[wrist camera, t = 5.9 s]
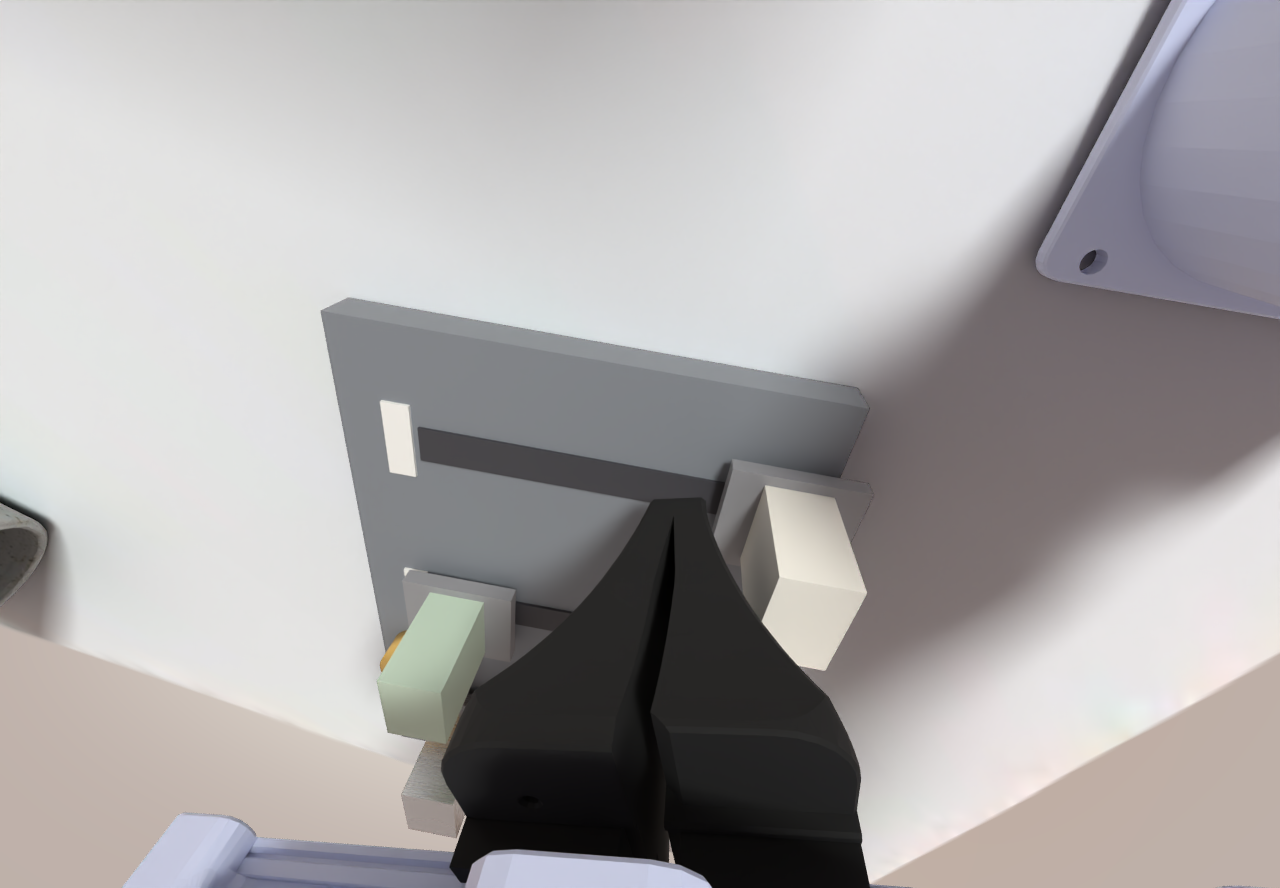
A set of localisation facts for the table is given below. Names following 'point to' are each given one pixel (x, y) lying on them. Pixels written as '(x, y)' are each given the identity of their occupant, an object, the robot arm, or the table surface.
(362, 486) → the panel
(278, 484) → the table surface
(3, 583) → the ceramic mug
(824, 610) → the paddle cream
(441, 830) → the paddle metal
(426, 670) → the pale mint cube
